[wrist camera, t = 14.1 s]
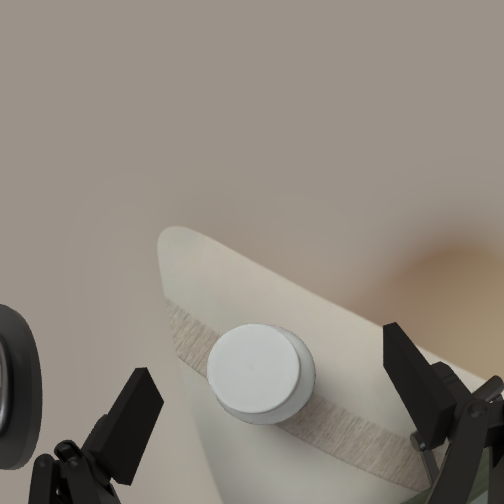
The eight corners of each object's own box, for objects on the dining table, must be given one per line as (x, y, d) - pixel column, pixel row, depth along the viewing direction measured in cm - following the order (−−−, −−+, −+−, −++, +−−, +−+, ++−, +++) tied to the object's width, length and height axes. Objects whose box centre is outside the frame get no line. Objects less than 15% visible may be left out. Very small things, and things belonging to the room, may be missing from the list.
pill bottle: (323, 359, 20) (333, 326, 12) (298, 427, 18) (290, 446, 10) (255, 339, 22) (218, 292, 13) (229, 403, 20) (172, 399, 11)
